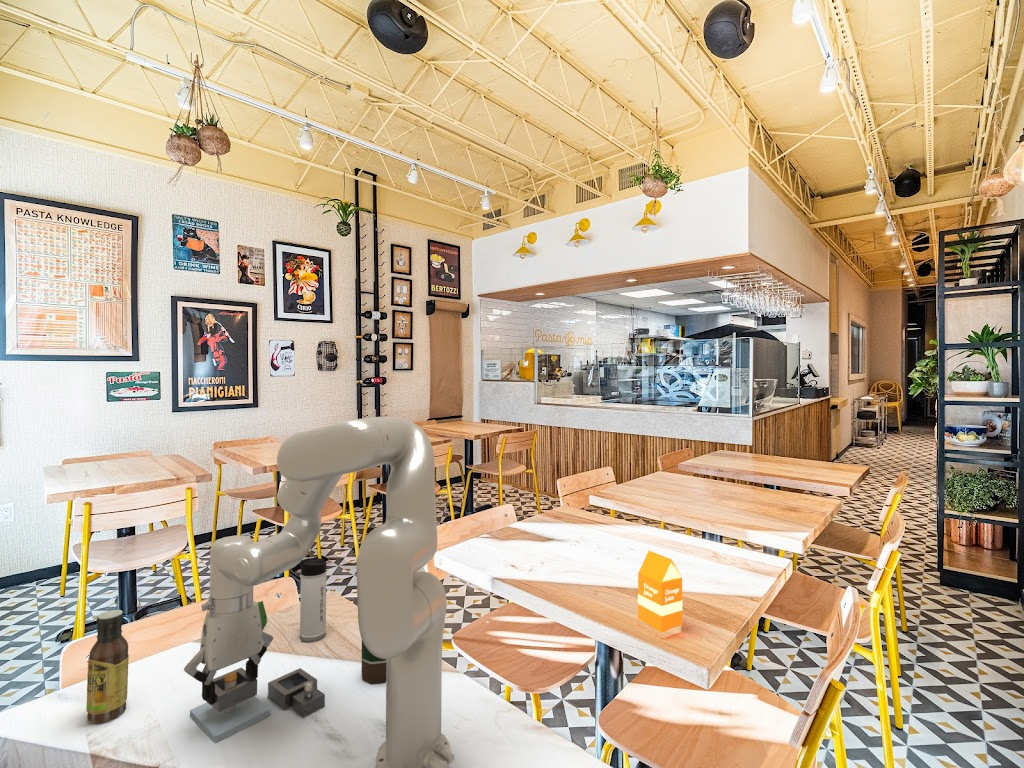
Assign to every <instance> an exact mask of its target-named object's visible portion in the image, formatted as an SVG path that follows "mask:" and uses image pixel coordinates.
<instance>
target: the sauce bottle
mask: <svg viewBox="0 0 1024 768" xmlns="http://www.w3.org/2000/svg"><path fill="white" fill-rule="evenodd" d="M123 619H124V611H123V610H121V609H112V610H107V611H104V612H102V613H100V614H98V615H97V617H96V625H97V636H96V638H97V639H96V642H95V643H94V644H93V646H92V647H91V649H90V651H89V656H88V659H87V660H88V661H87V680H86V681H87V685H86V705H85V706H86V713H87V716H86V717H87V720H88V722H89V723H96V724H100V723H106V722H109V721H111V720H114V719H116V718H118V717H120V716H121V715H122V714H123V713H124V712H125V711H126V709H127V700H128V688H129V687H128V685H129V655H130V654H129V643H128V640H127V639H126V638H125V637H124V636H123V634H122V632H123V630H122V627H123V626H122V624H123V622H122V621H123Z"/></svg>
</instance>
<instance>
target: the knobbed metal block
mask: <svg viewBox="0 0 1024 768" xmlns="http://www.w3.org/2000/svg"><path fill="white" fill-rule="evenodd" d="M325 696H326V694H325V693H324V692H322V691H321V690H319V689H318V687H317V688H315V687H314V686H313V682H312V681H307V682H306V683H305V684H304V691H302V692H300V693H298V694H296V695H294V696H292V707H291V709H292V710H294V711H295V712H296V713H297V714H299V715H300V716H301V717H302V718H305V717H307V716H310V715H311V714H313V713H315V712H316V711H319V710H320V709H322V708H324V707H325V706H326V703H325V702H326V699H325V698H326V697H325Z"/></svg>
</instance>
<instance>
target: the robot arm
mask: <svg viewBox="0 0 1024 768" xmlns="http://www.w3.org/2000/svg"><path fill="white" fill-rule="evenodd" d="M276 463H277V464H276V466H277V469H278V472H279V474H281V476H282V477H283V478H284V479H285V480H283V483H282V484H281V486H280V488H279V489H278V491H277V495H276V500H277V503H278V505H279V506H280V508H282V509H283V510H284V511H285V512H287V513H288V514H289V515H290V517H289V519H288V520H287V522H286V524H284V527H283V528H282V530H281V531H280V532H279V533H277V534H274V535H271V536H268V537H266V538H263V539H260V540H258V541H255V542H254V540H253V539H252V538H251V537H249V536H247V535H230V536H224V537H221V538H219V539H216V540H215V541H214V542H213V543H212V544H211V546H210V551H209V596H208V600H207V601H206V602H205V603H202V604H201V611H202V612H205V611H207V612H206V614H205V617H204V620H203V625H202V630H201V631H202V632H201V637H200V645H199V646H200V648H199V651H198V652H197V653H196V654H195V655H194V656H193V657H191V660H190V661H189V662H188V663H187V664H186V665H185V666H184V668H183V671H184V672H185V673H186V674H187V675H189V676H190V677H192V678H193V679H195V680H196V681H198V682H200V683H201V697H202V700H203V701H204V702H205V701H206V703H207V702H208V703H209V704H210V705H212V704H214V702H215V683H214V682H213V679H214V678H215V676H216V674H217V671H219V670H221V669H225V668H227V667H230V666H233V665H235V664H237V663H240V662H242V661H245V660H247V661H246V663H245V671H246V672H248V673H249V674H250V675H251V676H253V677H255V678H256V679H258V678H259V664H260V663H261V661H262V658H263V656H264V655H265V653H267V651H268V650H267V649H268V647H270V645H271V643H272V642H273V640H274V636H272V635H271V634H269V633H267V632H265V631H264V630H263V629H262V626H261V618H260V612H259V607H258V603H257V601H255V600H254V587H255V586H258V585H260V584H262V583H265V582H267V581H269V580H271V579H273V578H276V577H277V576H279V575H281V574H283V573H285V572H288V571H289V570H291V569H293V568H295V567H296V566H297V565H298V564H299V563H300V562H301V561H302V560H304V558H305V557H306V555H308V552H309V551H310V550H311V548H312V546H313V545H314V543H315V542H316V540H317V538H318V536H319V535H320V532H321V526H322V525H321V524H322V513H321V511H322V510H323V507H324V506H325V505H326V503H327V501H328V499H329V498H330V497H331V494H332V493H333V491H334V489H335V488H336V486H337V485H338V483H339V482H340V479H342V477H343V475H347V474H351V473H356V472H362V471H364V470H369V469H372V468H377V467H379V466H383V465H390V472H389V473H390V474H389V476H388V480H387V483H386V488H385V489H386V491H385V499H386V515H385V516H386V517H385V521H384V523H383V524H380V525H378V526H377V527H375V528H374V529H371V531H369V533H368V534H367V535H366V536H365V537H364V538H363V540H362V542H361V543H360V546H359V549H358V552H357V557H356V595H357V600H356V601H357V623H358V629H359V630H358V631H359V634H360V638H361V642H362V641H363V643H364V645H365V646H366V648H367V649H368V650H369V652H370V653H372V654H373V655H374V656H376V657H378V658H381V659H387V667H386V682H385V741H384V742H383V743H382V744H381V745H380V747H379V748H378V750H377V753H376V759H375V761H376V762H375V763H376V764H375V765H376V768H451V766H450V765H451V764H452V763H453V762H454V760H455V754H454V753H452V752H451V745H450V743H449V740H448V739H447V737H446V735H445V734H443V733H442V678H443V677H442V676H443V673H442V672H443V671H442V668H443V642H444V641H443V639H444V638H443V637H444V631H445V622H446V618H447V617H446V615H447V607H448V606H447V594H446V589H445V587H444V585H443V583H442V581H441V580H440V579H439V578H438V577H437V576H436V575H434V574H433V573H432V572H428V571H425V570H422V571H421V569H422V568H423V567H425V566H426V565H427V564H428V563H429V562H430V561H431V560H433V558H434V556H435V555H436V552H437V550H438V525H437V524H438V522H437V520H438V519H437V499H436V483H435V480H436V478H435V477H436V476H435V472H436V471H435V468H436V463H435V454H434V447H433V445H432V441H431V440H430V438H429V436H428V435H427V433H426V432H425V431H424V430H423V428H422V427H420V426H419V425H418V424H417V423H415V422H414V421H411V420H409V419H408V418H404V417H400V416H389V415H387V416H386V415H385V416H375V417H365V418H356V419H349V420H345V421H340V422H337V423H334V424H333V423H332V424H329V425H326V426H321V427H317V428H314V429H309V430H305V431H301V432H295V433H294V434H291V435H290V436H289V437H287V438H286V439H285V440H284V441H283V442H282V444H281V445H280V447H279V450H278V452H277V456H276ZM299 565H300V564H299ZM200 663H201V664H202V665H204V667H203V668H202V671H201V670H199V669H197V668H198V667H199V665H200Z"/></svg>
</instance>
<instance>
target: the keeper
mask: <svg viewBox="0 0 1024 768" xmlns="http://www.w3.org/2000/svg"><path fill="white" fill-rule="evenodd" d="M228 673H229V672H228ZM226 674H227V673H226ZM236 680H237V673H229V674H227V675H225V676H224V682H225V690H227V689H229V688H231V687H234V686H236ZM270 716H271V708H270V707H269V706H267V705H266V704H265V703H264V702H262V700H260V699H259V698H257V697H256V696H254V697H251V698H249V699H247V700H245V701H243V702H241V703H239V704H236V705H234V706H232V707H230V708H228V709H226V710H223V711H221V712H218V711H217V710H215V709H214V708H213V707H212V706H211V705H210V704H209V703H208V702H207V701H206V702H205V703H203V704H201V705H198V706H196V707H194V708H191V709H190V710H189V717H190V718H191V719H192V720H193V721H194V722H195V723H196V725H197V726H199V728H200V729H201V730H202V731H203V732H204V733H205V734H206V735H207V736H208V737H209V739H211V740H212V742H213V743H214V744H217V743H219V742H220V741H222V740H224V739H227V738H229V737H230V736H232V735H235V734H236V733H239V732H240V731H242V730H244V729H246V728H249V727H250V726H252V725H254V724H256V723H257V722H260V721H262V720H264V719H266V718H268V717H270Z"/></svg>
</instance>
